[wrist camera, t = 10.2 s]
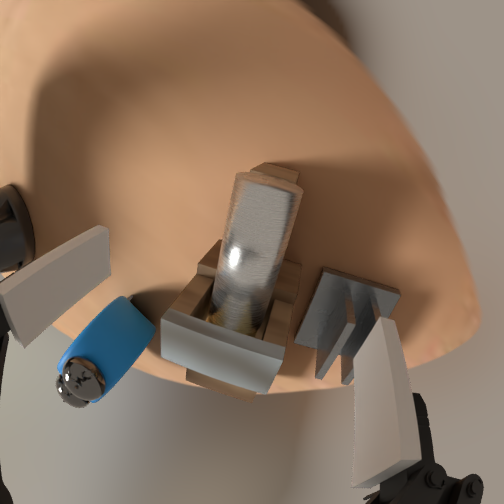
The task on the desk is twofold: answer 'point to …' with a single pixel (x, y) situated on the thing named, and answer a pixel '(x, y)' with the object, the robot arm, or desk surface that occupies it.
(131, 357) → the alarm clock
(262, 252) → the axle
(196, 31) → the desk surface
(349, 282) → the grey slotted plate stand
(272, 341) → the beam
